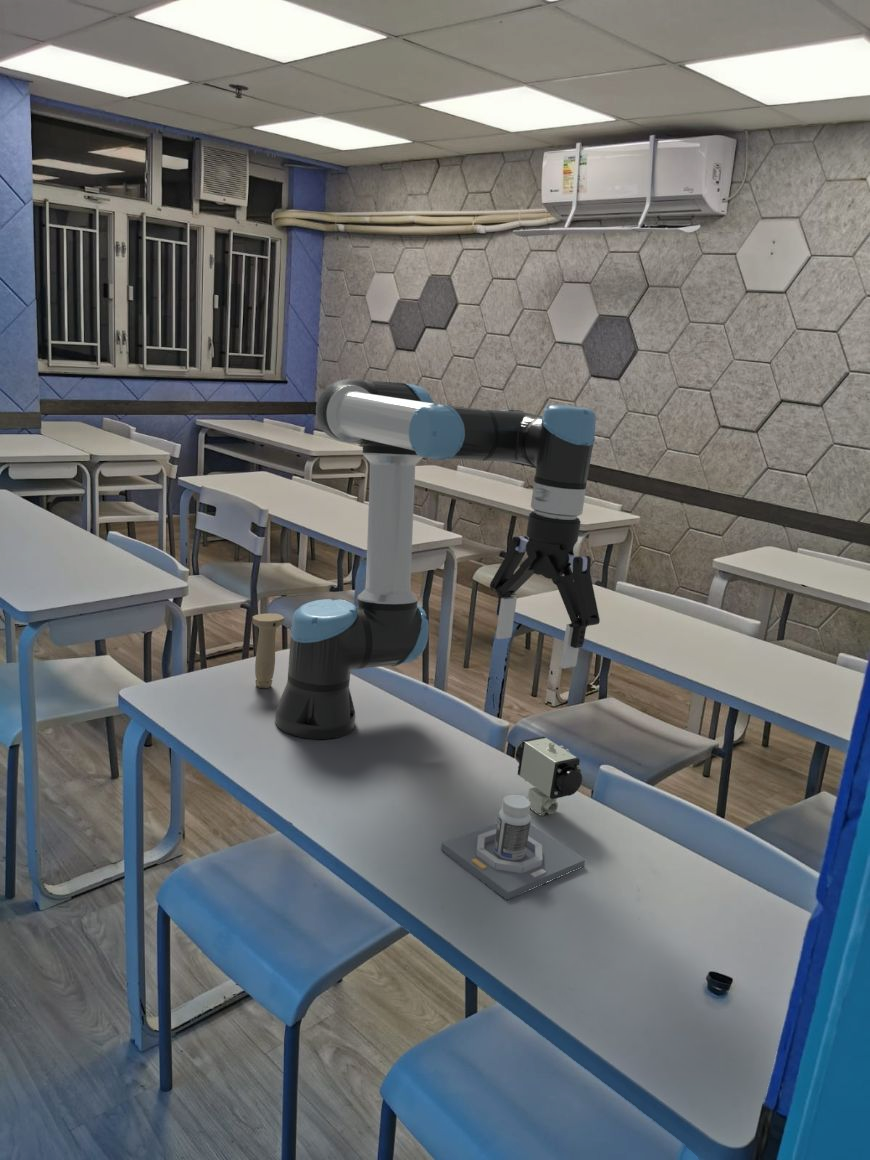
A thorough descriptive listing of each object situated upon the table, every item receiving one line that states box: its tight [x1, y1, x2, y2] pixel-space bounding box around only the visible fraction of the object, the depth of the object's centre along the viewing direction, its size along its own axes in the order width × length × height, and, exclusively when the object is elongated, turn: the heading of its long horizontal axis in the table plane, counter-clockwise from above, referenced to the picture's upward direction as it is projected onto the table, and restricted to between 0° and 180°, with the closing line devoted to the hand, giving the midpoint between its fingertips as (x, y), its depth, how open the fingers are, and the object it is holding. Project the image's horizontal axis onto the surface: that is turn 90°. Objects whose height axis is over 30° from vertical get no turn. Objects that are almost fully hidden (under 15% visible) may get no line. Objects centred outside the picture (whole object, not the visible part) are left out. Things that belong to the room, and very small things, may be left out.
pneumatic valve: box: [515, 736, 583, 815], centre depth 143 cm, size 6×12×12 cm, turn 33°
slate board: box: [440, 823, 586, 900], centre depth 129 cm, size 14×16×2 cm
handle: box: [252, 612, 285, 689], centre depth 180 cm, size 5×6×15 cm
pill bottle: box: [494, 794, 532, 861], centre depth 127 cm, size 5×5×8 cm
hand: (534, 651), depth 132 cm, fingers open, 13 cm apart
